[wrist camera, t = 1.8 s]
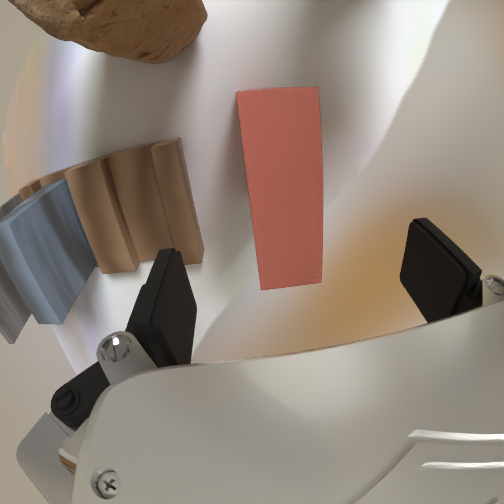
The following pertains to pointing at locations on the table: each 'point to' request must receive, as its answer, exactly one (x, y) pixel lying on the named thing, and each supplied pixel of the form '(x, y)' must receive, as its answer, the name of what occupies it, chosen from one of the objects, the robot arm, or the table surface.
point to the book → (284, 182)
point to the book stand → (92, 229)
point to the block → (120, 25)
